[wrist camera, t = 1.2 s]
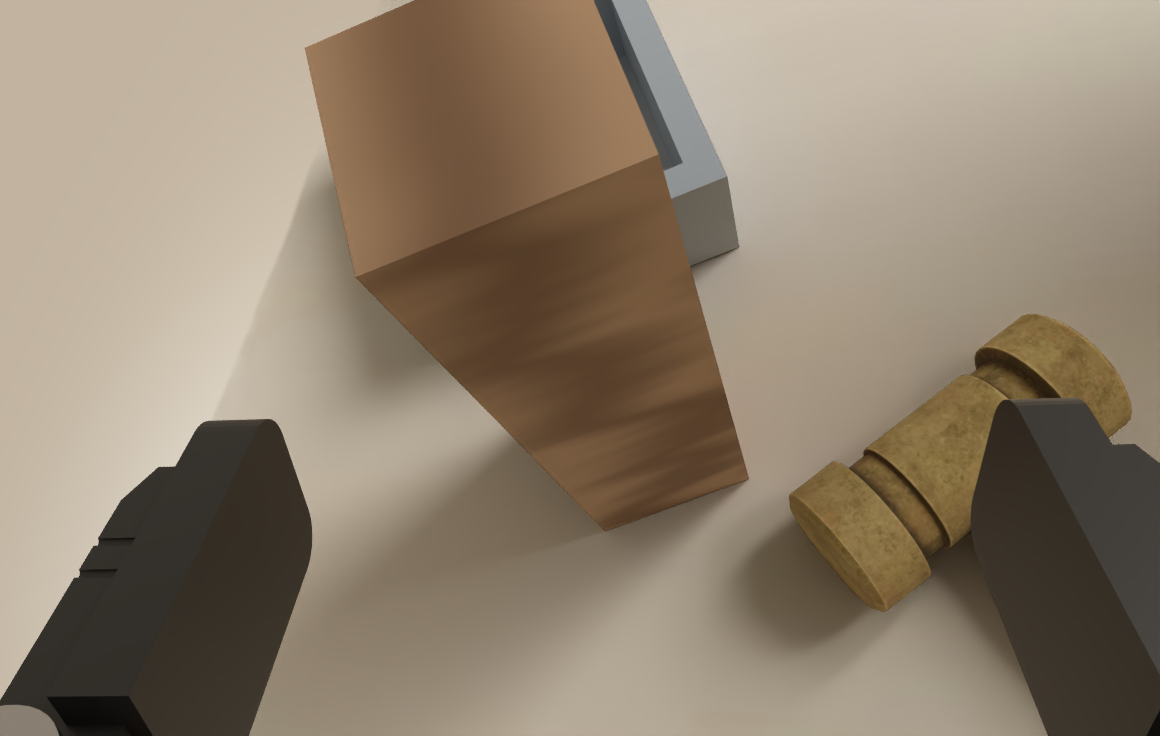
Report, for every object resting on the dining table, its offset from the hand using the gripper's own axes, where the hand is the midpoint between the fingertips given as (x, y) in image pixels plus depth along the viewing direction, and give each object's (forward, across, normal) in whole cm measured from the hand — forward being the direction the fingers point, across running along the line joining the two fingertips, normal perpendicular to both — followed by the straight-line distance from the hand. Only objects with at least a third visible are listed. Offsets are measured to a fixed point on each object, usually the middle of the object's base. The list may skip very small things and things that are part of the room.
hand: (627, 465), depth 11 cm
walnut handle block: (+18, 0, +16) cm, 24 cm away
